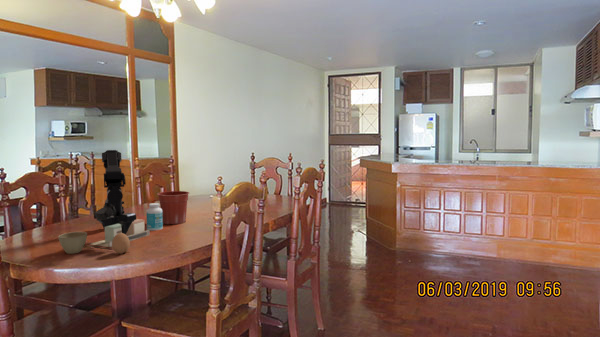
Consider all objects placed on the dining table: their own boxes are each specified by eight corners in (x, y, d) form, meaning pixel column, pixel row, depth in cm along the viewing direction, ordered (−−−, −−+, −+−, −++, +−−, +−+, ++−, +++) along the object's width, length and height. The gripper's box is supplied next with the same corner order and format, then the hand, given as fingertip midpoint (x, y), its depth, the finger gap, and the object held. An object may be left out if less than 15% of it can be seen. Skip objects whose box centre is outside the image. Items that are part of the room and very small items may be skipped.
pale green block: (105, 243, 169) (104, 226, 168) (118, 239, 175) (117, 223, 175) (113, 244, 167) (112, 227, 166) (126, 240, 173) (126, 224, 173)
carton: (125, 237, 179) (125, 221, 178) (137, 233, 185) (137, 219, 185) (133, 238, 177) (133, 222, 177) (145, 234, 184) (144, 219, 183)
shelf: (89, 246, 168) (88, 238, 167) (129, 235, 188) (129, 227, 188) (110, 249, 163) (110, 241, 163) (150, 237, 183) (149, 230, 183)
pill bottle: (157, 233, 192) (156, 205, 191) (143, 232, 193) (142, 204, 192) (165, 229, 199) (165, 202, 198) (152, 229, 200) (151, 202, 199)
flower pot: (184, 225, 208) (183, 195, 207) (153, 225, 208) (152, 195, 207) (193, 219, 224) (193, 191, 223) (164, 219, 225) (163, 190, 224)
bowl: (66, 249, 164) (66, 231, 164) (92, 248, 165) (91, 231, 165) (54, 256, 154) (53, 237, 154) (80, 255, 155) (80, 237, 155)
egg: (132, 251, 161) (131, 231, 161) (126, 255, 155) (125, 235, 154) (116, 251, 161) (115, 231, 161) (109, 255, 155) (108, 235, 154)
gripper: (82, 201, 166) (83, 238, 167) (115, 204, 159) (116, 242, 160) (104, 197, 176) (105, 232, 177) (136, 200, 169) (137, 236, 170)
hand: (115, 235), depth 171 cm, fingers open, 9 cm apart
